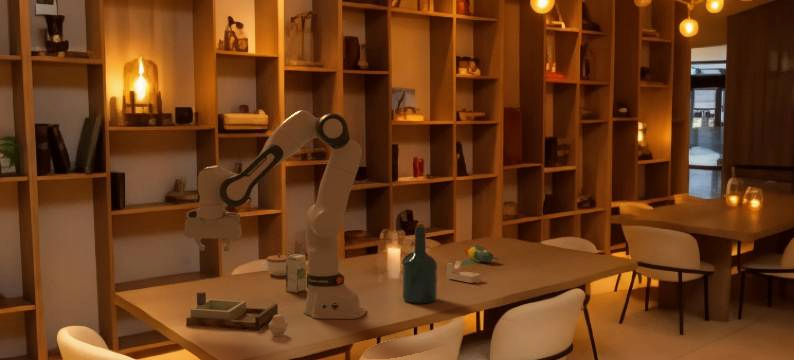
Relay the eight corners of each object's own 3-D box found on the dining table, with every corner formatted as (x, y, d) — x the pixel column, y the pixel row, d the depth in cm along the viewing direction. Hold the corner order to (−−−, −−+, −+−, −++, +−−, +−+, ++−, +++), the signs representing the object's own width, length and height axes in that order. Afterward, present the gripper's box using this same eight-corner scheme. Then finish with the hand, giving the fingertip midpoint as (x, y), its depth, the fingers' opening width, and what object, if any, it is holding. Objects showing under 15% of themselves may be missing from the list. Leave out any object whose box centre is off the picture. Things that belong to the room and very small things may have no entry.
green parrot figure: (487, 240, 368) (510, 245, 356) (486, 257, 369) (509, 262, 357) (447, 246, 350) (469, 252, 339) (446, 264, 351) (468, 270, 340)
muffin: (291, 335, 236) (291, 314, 235) (276, 339, 231) (276, 318, 231) (279, 331, 240) (279, 310, 240) (264, 335, 236) (264, 314, 235)
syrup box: (294, 288, 298) (294, 253, 297) (306, 290, 295) (306, 255, 294) (285, 291, 293) (285, 255, 292) (297, 293, 290) (297, 257, 289)
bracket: (446, 280, 316) (447, 263, 316) (456, 277, 322) (457, 260, 321) (471, 285, 308) (471, 267, 307) (480, 282, 313) (481, 265, 312)
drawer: (245, 312, 258) (245, 290, 257) (229, 323, 244) (228, 300, 244) (206, 309, 261) (206, 287, 260) (188, 320, 247) (187, 297, 247)
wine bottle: (428, 294, 290) (429, 220, 287) (442, 303, 277) (443, 225, 275) (396, 297, 285) (396, 221, 282) (409, 306, 273) (409, 227, 270)
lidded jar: (287, 277, 317) (287, 256, 316) (263, 276, 319) (263, 255, 318) (294, 272, 327) (294, 252, 327) (271, 271, 329) (271, 251, 328)
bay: (277, 316, 258) (277, 303, 257) (258, 330, 241) (258, 317, 240) (209, 311, 263) (209, 299, 262) (186, 325, 246) (186, 312, 245)
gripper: (243, 210, 257) (245, 249, 258) (189, 210, 261) (191, 248, 262) (236, 213, 251) (238, 252, 252) (181, 213, 254) (183, 252, 256)
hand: (214, 250), depth 257 cm, fingers open, 8 cm apart
